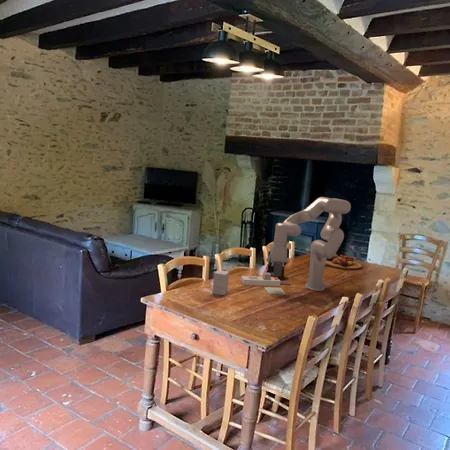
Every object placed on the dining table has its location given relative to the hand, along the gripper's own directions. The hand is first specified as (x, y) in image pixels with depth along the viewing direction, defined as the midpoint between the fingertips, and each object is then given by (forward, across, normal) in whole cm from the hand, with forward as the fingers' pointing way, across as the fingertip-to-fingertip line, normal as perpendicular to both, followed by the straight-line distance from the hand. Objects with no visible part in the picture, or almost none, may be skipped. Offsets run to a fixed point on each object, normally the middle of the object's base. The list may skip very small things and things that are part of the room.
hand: (276, 272), depth 256 cm
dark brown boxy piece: (+12, -8, -30) cm, 34 cm away
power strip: (+12, +2, -14) cm, 19 cm away
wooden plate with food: (+12, -75, -72) cm, 105 cm away
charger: (+2, 0, 0) cm, 2 cm away
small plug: (+10, +2, -14) cm, 17 cm away
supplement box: (+13, +34, +6) cm, 37 cm away
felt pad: (+12, 0, 0) cm, 12 cm away
